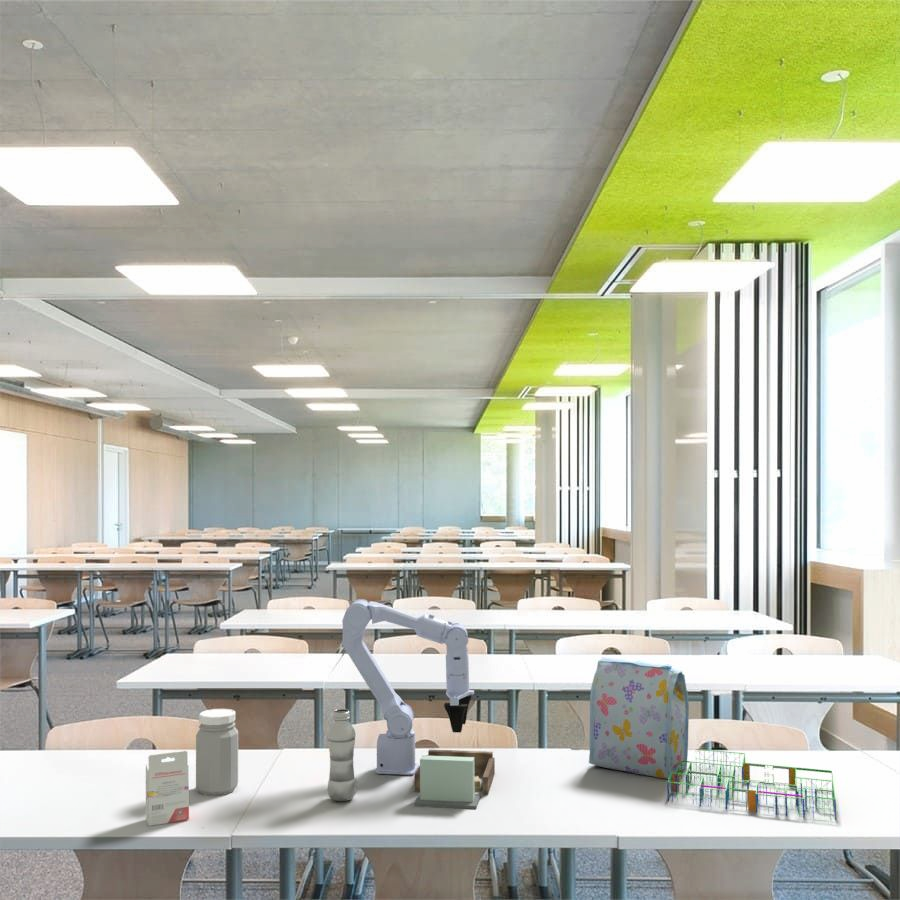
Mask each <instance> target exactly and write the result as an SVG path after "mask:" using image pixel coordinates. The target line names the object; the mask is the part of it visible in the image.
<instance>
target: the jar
mask: <svg viewBox="0 0 900 900" xmlns="http://www.w3.org/2000/svg"><path fill="white" fill-rule="evenodd" d="M235 720H236V711H235V710H234V709H230V708H213V709H212V708H211V709H206V710H204V711H201V712H200V713H199V714H198V721H199V722H198V723H199V724H200V725H199V726H198V728H199V729H198V731H197V733H196V735H195V789H196V790H197V791H198V792H199V794H202V795H205V796H210V797H211V796H222V795H226V794H227V795H228V794H229V793H231V792H234V791H235V789H236V788H237V787H238V784H239V730H238V729H237V728H236V722H235Z"/></svg>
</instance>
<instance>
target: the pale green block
mask: <svg viewBox="0 0 900 900" xmlns="http://www.w3.org/2000/svg"><path fill="white" fill-rule="evenodd" d="M419 766H420V792H419V793H420V800H438V801H461V802H473V801H474V798H475V794H476V793H475V792H476V791H475V777H476V773H475V767H474V757H453V756H426V754H424V755H421V757H420V759H419Z"/></svg>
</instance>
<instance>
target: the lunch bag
mask: <svg viewBox="0 0 900 900" xmlns="http://www.w3.org/2000/svg"><path fill="white" fill-rule="evenodd" d="M596 666H597V667H596V671H595V673H594V675H593V679H592V683H591V687H590V694H589V695H590V697H589V698H590V699H589V755H588V756H589V757H588V758H589V759H588V763H589V764H590V765H594V766H597V767H599V768H600V767H601V768H607V769H610V770H617V771H621V772H627V773H632V774H637V775H644V776H649V777H653V778H660V779H664V780H665V779H667V780H668V779H669V777H670V774H671V773H676V772H677V773H679V769H678V767H680V771H681V764H680V762H681V761H688V755H689V753H688V751H689V750H688V748H689V723H690V722H689V713H690V712H689V711H690V710H689V709H690V705H689V693H688V689H687V685H686V677H685V674H684V673H683V671H682V670H677V669H675V668H673V665H672V664H658V663H657V664H656V663H651V662H645V661H640V660H639V661H630V660H627V659H626V660H625V659H621V658H619V659H618V658H610V657H602V658H599V660H598V661H597V665H596ZM679 764H680V766H679ZM687 767H688V762H682V770H685V769H688V768H687ZM677 769H678V771H677Z"/></svg>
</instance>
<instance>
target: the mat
mask: <svg viewBox="0 0 900 900" xmlns="http://www.w3.org/2000/svg"><path fill="white" fill-rule="evenodd" d="M480 800H481V793H475V798H474V801H473V802H461V801H438V800H420V792H418V795H417V796H416V799H415V800H414V802H413V807H424V806H430V808H431V807H432V808H449V809H451V808H452V809H470V810H471V809H473V810H474V809H475V810H477V808H478V805H479V802H480Z"/></svg>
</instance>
